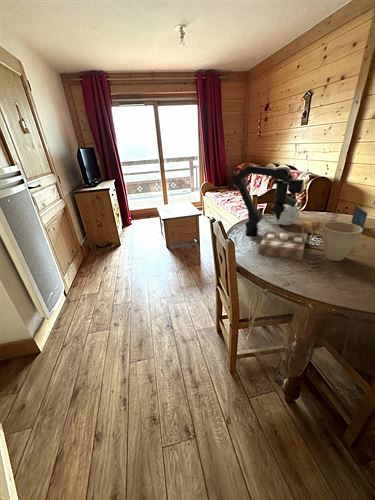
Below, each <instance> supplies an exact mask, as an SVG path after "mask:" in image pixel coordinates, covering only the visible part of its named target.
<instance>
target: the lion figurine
mask: <svg viewBox="0 0 375 500" xmlns="http://www.w3.org/2000/svg"><path fill="white" fill-rule="evenodd" d="M323 224H324V222H323V220H318V221H316V222H315V221H314V222H311V223H310V222H309V221H307V220H305V221H302V223H301V225H300V226H299V228H297V230H300V229H301V233H305V230H304V229H305V228H307V229H308V230H311V236H314V235H316V232H318V231H319V230H323Z"/></svg>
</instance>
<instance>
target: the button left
mask: <svg viewBox="0 0 375 500" xmlns="http://www.w3.org/2000/svg"><path fill="white" fill-rule="evenodd" d="M266 238H273V239H275V235H272V234H268V235H267V236H266Z"/></svg>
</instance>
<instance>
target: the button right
mask: <svg viewBox="0 0 375 500" xmlns="http://www.w3.org/2000/svg"><path fill="white" fill-rule="evenodd" d="M293 241H297V242H302V241H303V239H302V238H299V237H295V238H294V239H293Z"/></svg>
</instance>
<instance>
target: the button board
mask: <svg viewBox="0 0 375 500" xmlns="http://www.w3.org/2000/svg"><path fill="white" fill-rule="evenodd" d="M281 233H285V232H282V231H275V230H273V231H272V230H266V231H265V233H264V235H263V237H262V238H261V241H260V243H259V244H258V252H257V253H258V254H262V255H269V256H274V257H275V256H276V257H281V258H286V259H287V258H288V259H293V260H300V261H303V256H304V252H305V246H306V245H305V244H306V239H307V235H306V234H301V233H293V232H292V233H291V232H286V233H287V234H289V237H288V240H281V239H280V234H281ZM268 234H272V235H275V239H273V238H266V236H267V235H268ZM295 237H299V238H302V239H303V241H302V242H297V241H293V239H294V238H295Z"/></svg>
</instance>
